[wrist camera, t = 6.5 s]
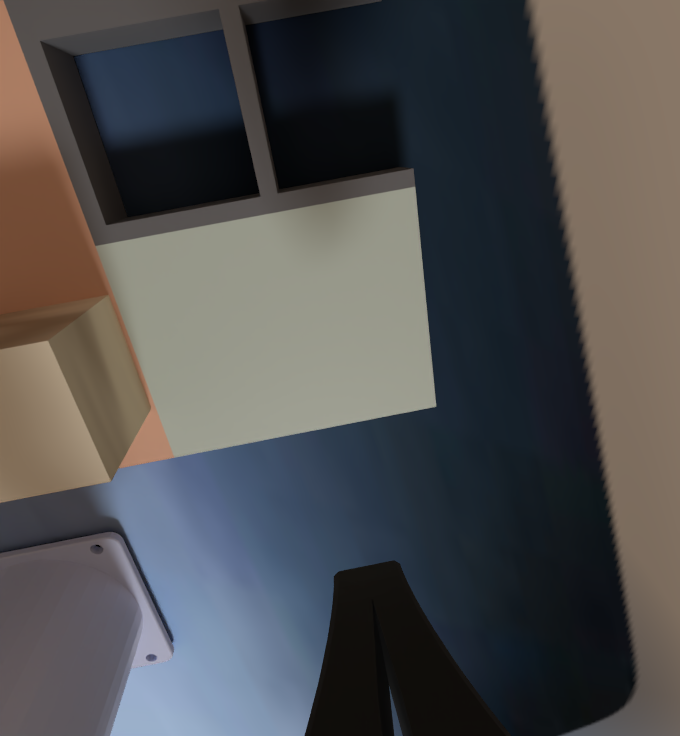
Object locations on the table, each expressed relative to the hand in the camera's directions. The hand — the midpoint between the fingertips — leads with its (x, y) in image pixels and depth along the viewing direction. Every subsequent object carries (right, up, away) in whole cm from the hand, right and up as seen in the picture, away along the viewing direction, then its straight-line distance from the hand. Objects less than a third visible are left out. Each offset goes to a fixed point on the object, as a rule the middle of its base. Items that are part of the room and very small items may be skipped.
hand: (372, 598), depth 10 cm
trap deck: (-6, +9, +6) cm, 12 cm away
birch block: (-9, +5, +5) cm, 12 cm away
